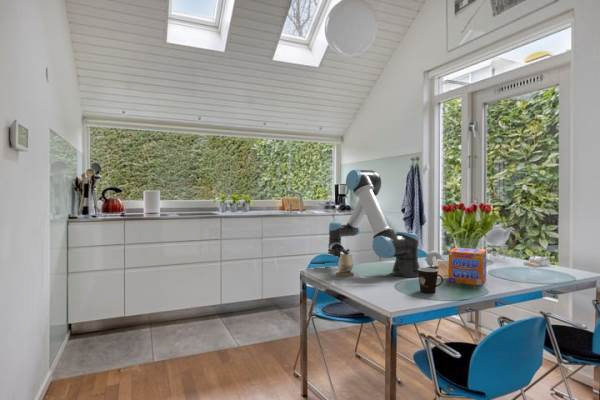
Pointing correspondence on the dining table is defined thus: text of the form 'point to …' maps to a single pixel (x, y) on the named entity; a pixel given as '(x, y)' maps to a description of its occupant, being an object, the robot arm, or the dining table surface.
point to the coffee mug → (428, 280)
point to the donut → (431, 255)
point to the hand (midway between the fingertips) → (343, 256)
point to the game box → (467, 266)
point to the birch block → (345, 263)
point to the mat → (344, 275)
